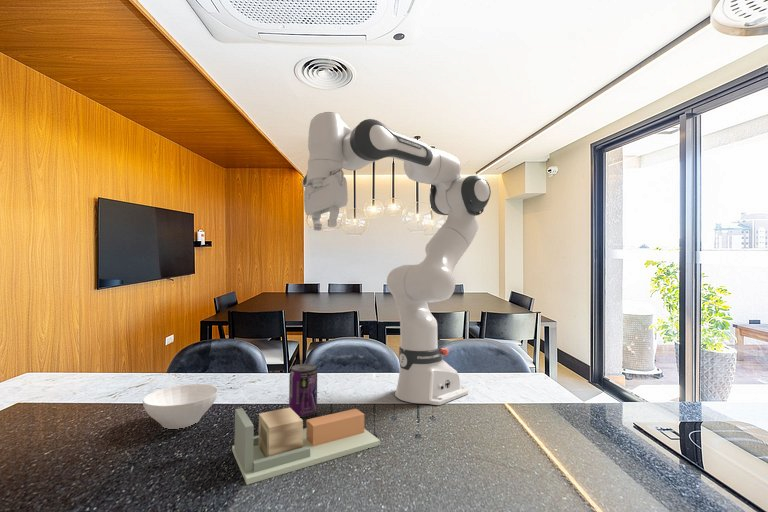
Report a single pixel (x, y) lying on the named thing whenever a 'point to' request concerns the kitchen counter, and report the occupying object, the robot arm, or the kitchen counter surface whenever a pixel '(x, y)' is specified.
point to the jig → (266, 467)
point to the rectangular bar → (334, 426)
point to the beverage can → (303, 389)
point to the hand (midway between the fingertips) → (324, 228)
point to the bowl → (180, 404)
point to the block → (280, 432)
